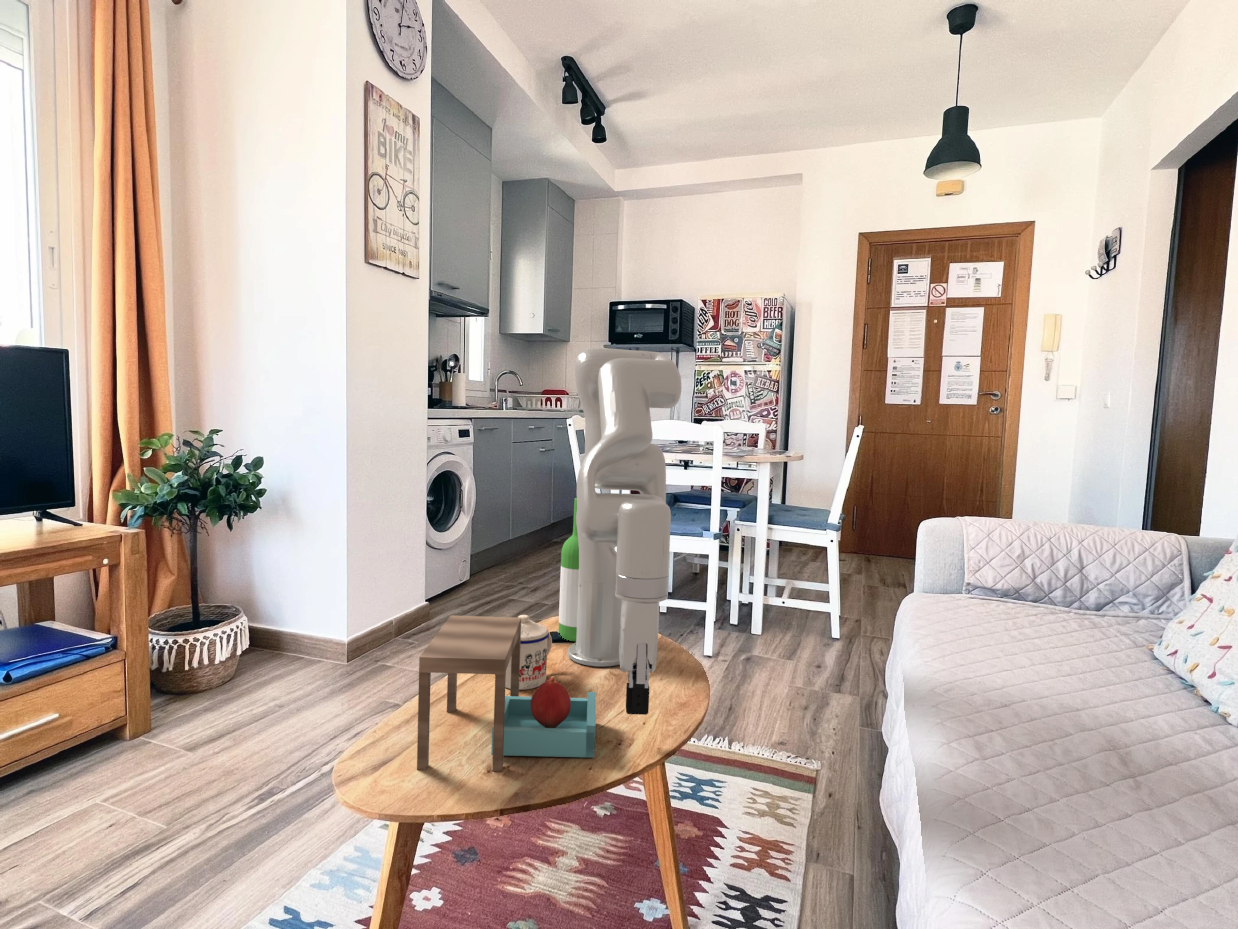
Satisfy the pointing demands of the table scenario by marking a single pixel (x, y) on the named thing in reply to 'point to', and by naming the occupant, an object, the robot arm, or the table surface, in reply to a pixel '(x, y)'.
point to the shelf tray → (549, 730)
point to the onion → (550, 703)
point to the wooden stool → (470, 670)
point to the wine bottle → (569, 584)
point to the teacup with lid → (531, 655)
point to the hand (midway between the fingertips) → (636, 711)
